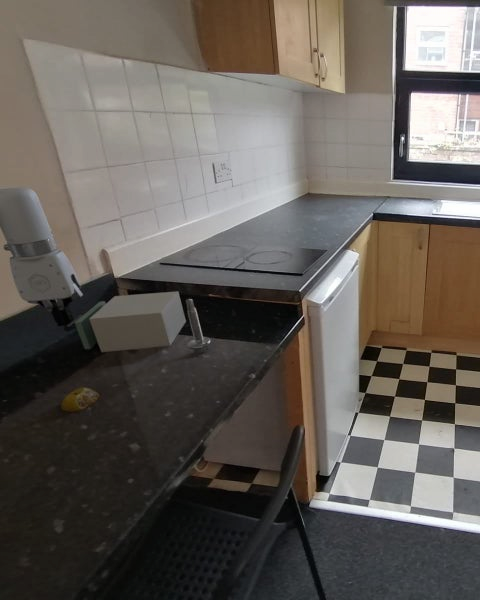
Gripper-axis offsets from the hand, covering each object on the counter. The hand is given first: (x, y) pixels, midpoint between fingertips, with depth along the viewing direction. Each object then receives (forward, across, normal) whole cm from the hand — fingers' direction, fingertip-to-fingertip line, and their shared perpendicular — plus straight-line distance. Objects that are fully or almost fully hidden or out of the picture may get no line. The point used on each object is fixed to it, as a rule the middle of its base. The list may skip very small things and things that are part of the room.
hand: (66, 323), depth 94 cm
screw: (+6, +31, -10) cm, 33 cm away
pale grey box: (+5, +16, 0) cm, 17 cm away
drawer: (+4, +10, 0) cm, 11 cm away
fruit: (+5, +17, -28) cm, 33 cm away
